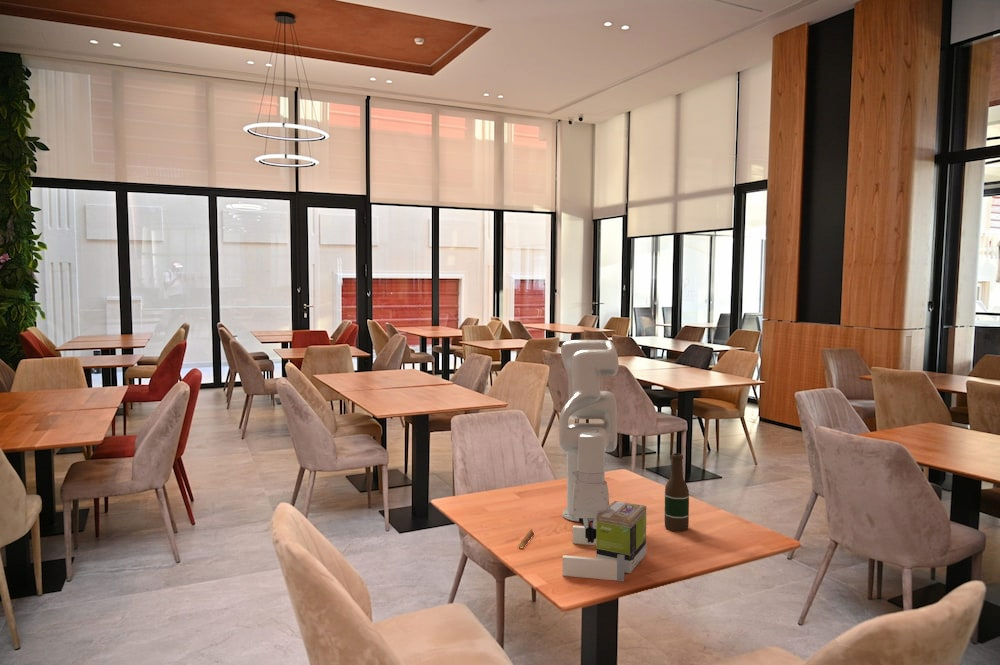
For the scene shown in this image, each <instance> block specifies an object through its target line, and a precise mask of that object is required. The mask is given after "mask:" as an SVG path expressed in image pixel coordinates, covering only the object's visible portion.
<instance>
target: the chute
mask: <svg viewBox="0 0 1000 665" xmlns="http://www.w3.org/2000/svg"><path fill="white" fill-rule="evenodd" d="M596 534H597V528H596ZM596 543H597V536H596V539H594V542H593V543H591V541H590V542H589V543H588V538H585V527H584V526H583V525H573V526H572V544H576V545H587V546H588V545H589V546H590V545H591V546H596ZM562 576H563V577H571V578H572V577H575V578H585V579H586V578H587V579H596V580H607V581H617V582H625V572H624V555H620V554H618V555H617V560H615V559H603V558H596V557H588V556H578V555H566V554H563V555H562Z"/></svg>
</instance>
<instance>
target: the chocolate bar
mask: <svg viewBox="0 0 1000 665" xmlns="http://www.w3.org/2000/svg"><path fill="white" fill-rule="evenodd" d="M534 534H535V533H534V530H533V528H530V530H529V531H528V533H526V535H525V536H524V538H523V539H521V541H520V543H519V544H518V546H517V548H518V547H523V548H524V547H525V545H526V544H527V543H528V541H529V540H530V539H531V537H532V536H533V535H534ZM534 536H535V535H534ZM534 536H533V537H534ZM531 540H532V539H531ZM531 540H530V541H531ZM528 544H529V543H528ZM528 544H527V545H528ZM527 545H526V546H527ZM525 548H526V547H525ZM525 548H524V549H525Z"/></svg>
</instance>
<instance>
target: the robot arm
mask: <svg viewBox="0 0 1000 665" xmlns="http://www.w3.org/2000/svg"><path fill="white" fill-rule="evenodd" d="M560 354H561V360H562V363H563V364H562V365H563V366H564V369H565V372H566V374H567V380H568V401H566V403H565V404H564V406H563V407H562V409H561V411H560V414H559V418H558V440H559V441H558V442H559V447H560V449H561V451H563V452H564V453H566V477H567V478H566V480H567V481H566V508H565V509H563V510H562V513H561V514H562V517H563V518H564V519H566V520H568V521H570V522H577V523H581V524H582V526H584V527H585V538H588V543H589V542H590V541H591V543H593V542H594V539H596V528H597V515H599V514H600V513H608V512H609V505H610V493H609V486H608V482H607V481H606V479H605V476H606V475H605V473H606V472H605V471H606V470H605V469H606V468H605V465H606V464H605V460H606V459H605V453H610V452H614V451H615V450H616V448H617V445H618V409H617V399H616V396H615V394H614V393H613V392H611V391H608V390H601V380H600V378H601V377H614V376H616V375H617V374H618V372H619V367H620V366H619V356H618V352H617V349H616V347H615V344H614V343H613V341H611V340H607V339H573V340H567V341H565V342H563V343H562V344H561V346H560ZM570 417H571V418H573V419H577V420H601V421H602V423H599V422H598V423H595V422H580V423H579V422H577V423H571V424H569V420H570ZM590 522H592V524H591V523H590Z"/></svg>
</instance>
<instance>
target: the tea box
mask: <svg viewBox="0 0 1000 665" xmlns="http://www.w3.org/2000/svg"><path fill="white" fill-rule="evenodd" d="M596 536H597V543H596V545H595V546H596V557H595V558H603V559H615V560H617V555H618V554H620V555H624V574H625V573H626V574H631V573H632V571H633V570H634V569H635V568H636V567H637V565H639V563H640V562H641V561H642V560H643V559H644V558H645V556H646V555H647V505H644V504H636V503H630V502H623V501H618V500H614V501H613V502H612V503H609V512H608V513H600V514H599V515H597V534H596Z"/></svg>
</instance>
